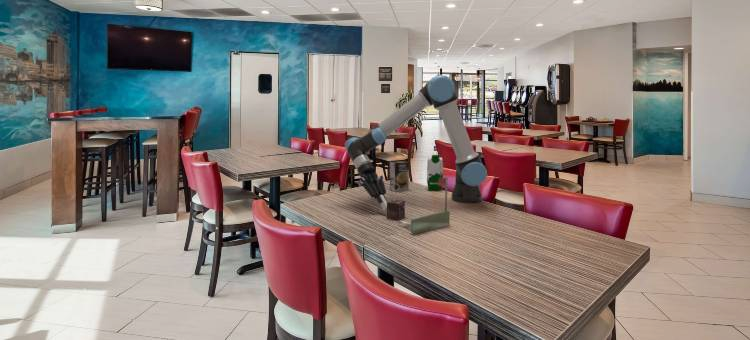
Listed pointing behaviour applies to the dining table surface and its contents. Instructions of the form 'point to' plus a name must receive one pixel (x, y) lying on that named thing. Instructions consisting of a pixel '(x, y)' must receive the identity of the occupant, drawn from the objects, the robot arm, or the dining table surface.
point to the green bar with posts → (429, 217)
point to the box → (396, 209)
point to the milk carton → (434, 172)
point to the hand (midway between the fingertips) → (386, 208)
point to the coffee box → (399, 176)
